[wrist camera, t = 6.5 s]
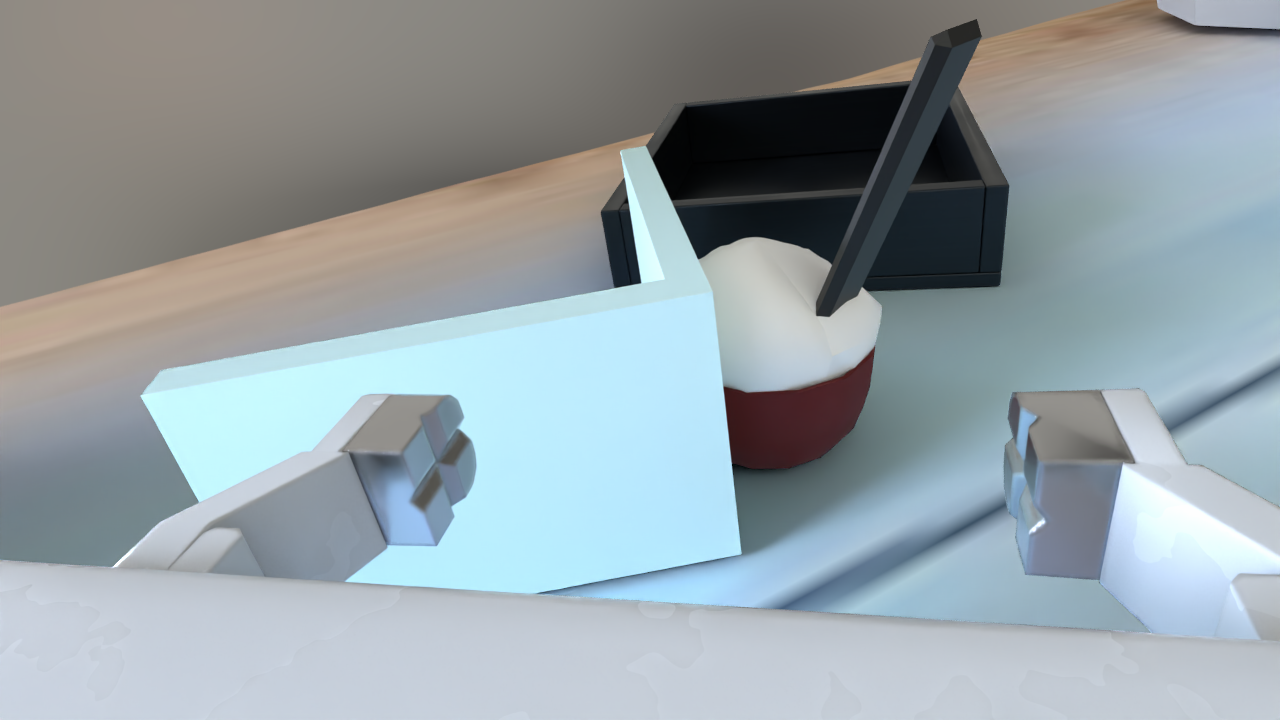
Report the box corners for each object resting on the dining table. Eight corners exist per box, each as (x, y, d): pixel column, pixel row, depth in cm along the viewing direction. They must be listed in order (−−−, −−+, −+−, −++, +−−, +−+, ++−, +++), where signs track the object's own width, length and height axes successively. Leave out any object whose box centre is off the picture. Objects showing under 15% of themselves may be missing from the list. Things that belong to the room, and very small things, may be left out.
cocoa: (629, 405, 27) (563, 38, 21) (785, 349, 29) (763, -5, 23) (774, 581, 20) (734, 84, 14) (975, 490, 21) (1017, 13, 15)
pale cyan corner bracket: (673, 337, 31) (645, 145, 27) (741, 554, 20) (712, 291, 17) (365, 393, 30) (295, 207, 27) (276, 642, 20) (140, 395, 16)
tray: (615, 299, 35) (600, 211, 33) (682, 170, 49) (674, 103, 47) (1000, 286, 31) (1009, 184, 29) (949, 150, 45) (953, 76, 43)
